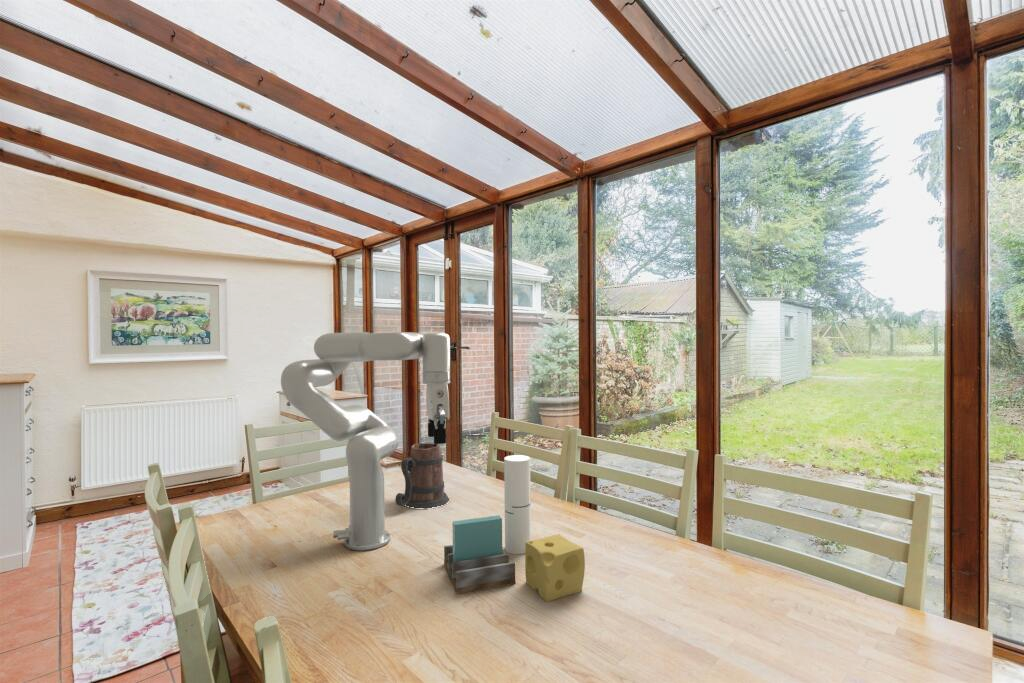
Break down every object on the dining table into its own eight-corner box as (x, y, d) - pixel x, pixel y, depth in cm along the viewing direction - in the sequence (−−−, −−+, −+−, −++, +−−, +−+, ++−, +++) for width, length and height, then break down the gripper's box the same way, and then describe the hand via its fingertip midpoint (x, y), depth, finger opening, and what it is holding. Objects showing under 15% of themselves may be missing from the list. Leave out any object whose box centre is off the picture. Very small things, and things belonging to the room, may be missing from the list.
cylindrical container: (528, 555, 129) (527, 461, 129) (502, 553, 131) (501, 460, 131) (532, 544, 136) (532, 455, 136) (507, 542, 138) (507, 454, 138)
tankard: (422, 491, 185) (421, 439, 185) (459, 497, 177) (458, 443, 177) (378, 510, 164) (378, 451, 164) (418, 519, 156) (417, 457, 156)
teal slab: (455, 574, 117) (454, 524, 117) (452, 570, 119) (452, 521, 119) (502, 566, 120) (502, 518, 120) (499, 562, 123) (499, 515, 123)
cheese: (546, 603, 106) (546, 557, 106) (523, 581, 116) (522, 539, 116) (585, 591, 111) (585, 548, 111) (559, 571, 120) (559, 531, 120)
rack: (457, 594, 110) (457, 573, 110) (444, 564, 125) (443, 545, 125) (515, 583, 115) (515, 563, 115) (496, 555, 129) (495, 538, 129)
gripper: (456, 379, 126) (457, 445, 126) (443, 375, 143) (444, 433, 143) (427, 380, 124) (428, 447, 124) (418, 376, 140) (418, 435, 140)
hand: (436, 439), depth 133 cm, fingers open, 9 cm apart
